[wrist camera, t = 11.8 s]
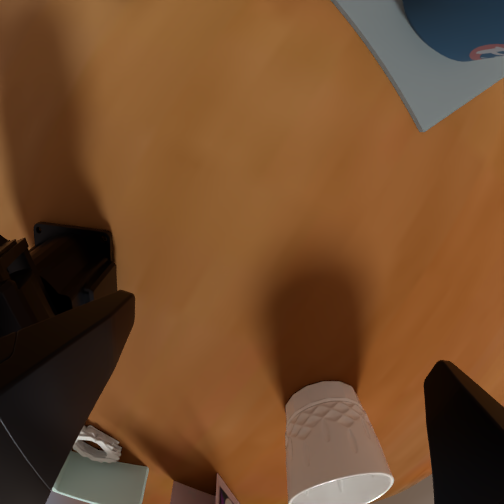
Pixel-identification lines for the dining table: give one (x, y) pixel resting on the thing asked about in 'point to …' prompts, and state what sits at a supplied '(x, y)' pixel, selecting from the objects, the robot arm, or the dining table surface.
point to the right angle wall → (100, 472)
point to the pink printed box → (202, 494)
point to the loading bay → (417, 62)
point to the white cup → (332, 448)
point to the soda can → (459, 27)
